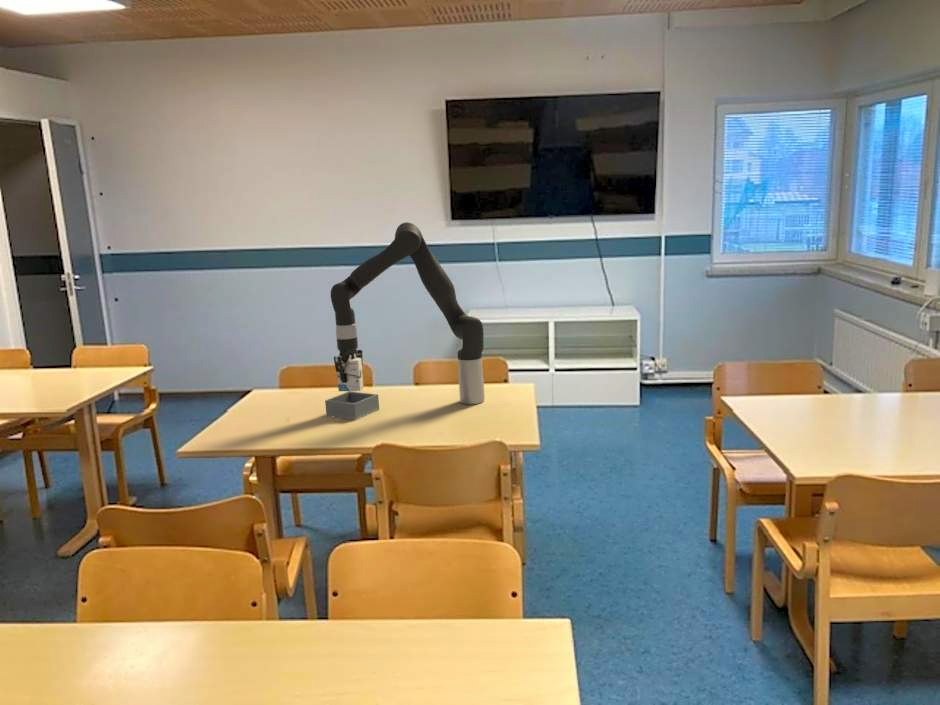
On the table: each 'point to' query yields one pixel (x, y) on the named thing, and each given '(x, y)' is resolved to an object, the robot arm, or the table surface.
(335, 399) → the grey bin
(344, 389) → the ink box
